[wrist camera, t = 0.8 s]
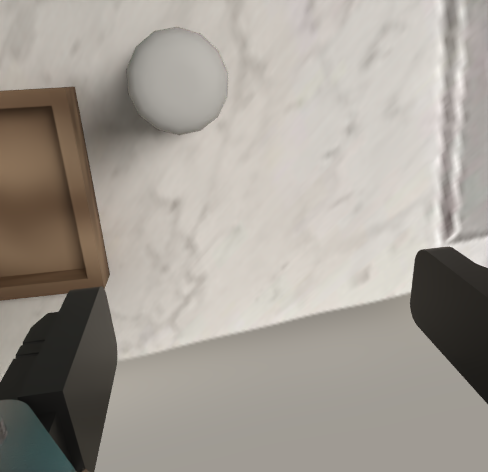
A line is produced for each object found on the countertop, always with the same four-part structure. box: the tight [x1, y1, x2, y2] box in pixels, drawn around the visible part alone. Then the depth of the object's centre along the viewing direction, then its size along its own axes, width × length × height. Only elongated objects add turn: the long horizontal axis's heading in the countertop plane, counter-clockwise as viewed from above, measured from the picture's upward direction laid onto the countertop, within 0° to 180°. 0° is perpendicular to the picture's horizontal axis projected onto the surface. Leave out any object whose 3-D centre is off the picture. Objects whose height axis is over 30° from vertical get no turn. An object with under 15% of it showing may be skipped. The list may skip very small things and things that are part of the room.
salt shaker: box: [127, 27, 228, 135], centre depth 23 cm, size 6×6×13 cm
